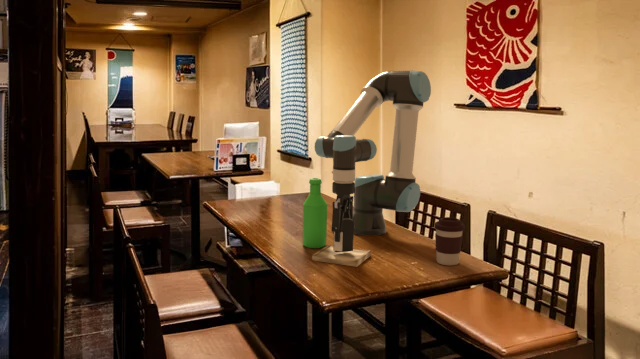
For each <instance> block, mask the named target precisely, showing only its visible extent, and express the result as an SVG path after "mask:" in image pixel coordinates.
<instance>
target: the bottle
mask: <svg viewBox="0 0 640 359" xmlns="http://www.w3.org/2000/svg"><path fill="white" fill-rule="evenodd" d="M308 183H309V194H308V196H307V197H306V199H305V200H304V202H303V204H302V245H303V246H304V247H305V248H309V249H322V248H324V247H326V246H327V239H328V238H327V230H328V229H327V227H328V203H327V201H326V200H325V198H324V197H323V195H322V194H321V193H322V190H321V189H322V186H321V185H322V179H321V178H319V177H313V178H309V182H308Z"/></svg>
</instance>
